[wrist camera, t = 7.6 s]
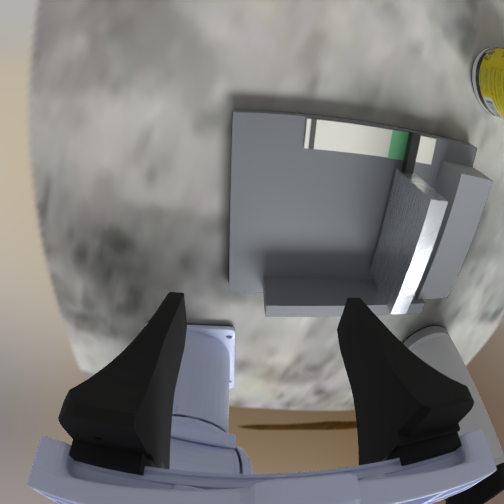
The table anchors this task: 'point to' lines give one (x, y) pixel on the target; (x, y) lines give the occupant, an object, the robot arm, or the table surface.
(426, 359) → the travel mug
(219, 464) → the robot arm
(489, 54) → the supplement bottle
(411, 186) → the paddle
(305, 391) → the table surface
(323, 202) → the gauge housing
